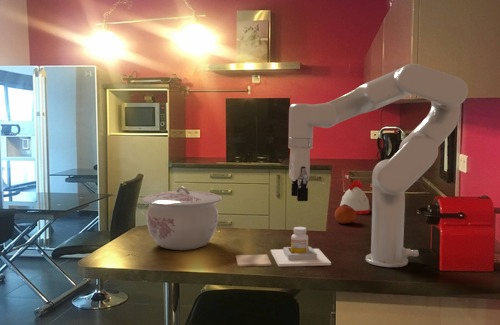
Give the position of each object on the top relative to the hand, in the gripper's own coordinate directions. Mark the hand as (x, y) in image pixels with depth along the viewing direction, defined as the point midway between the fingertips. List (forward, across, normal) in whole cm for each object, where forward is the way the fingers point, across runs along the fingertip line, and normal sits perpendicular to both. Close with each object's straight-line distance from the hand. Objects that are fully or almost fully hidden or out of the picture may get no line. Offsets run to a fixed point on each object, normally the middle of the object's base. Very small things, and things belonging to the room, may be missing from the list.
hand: (299, 198), depth 154 cm
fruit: (+19, -50, +30) cm, 61 cm away
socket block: (+19, +1, 0) cm, 19 cm away
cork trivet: (+19, +3, -15) cm, 24 cm away
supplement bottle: (+19, +1, 0) cm, 19 cm away
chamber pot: (+20, -18, -37) cm, 45 cm away
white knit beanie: (+19, -76, +42) cm, 89 cm away
